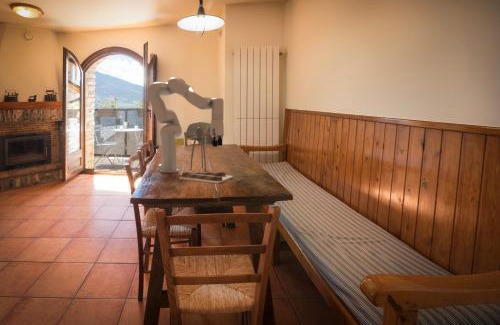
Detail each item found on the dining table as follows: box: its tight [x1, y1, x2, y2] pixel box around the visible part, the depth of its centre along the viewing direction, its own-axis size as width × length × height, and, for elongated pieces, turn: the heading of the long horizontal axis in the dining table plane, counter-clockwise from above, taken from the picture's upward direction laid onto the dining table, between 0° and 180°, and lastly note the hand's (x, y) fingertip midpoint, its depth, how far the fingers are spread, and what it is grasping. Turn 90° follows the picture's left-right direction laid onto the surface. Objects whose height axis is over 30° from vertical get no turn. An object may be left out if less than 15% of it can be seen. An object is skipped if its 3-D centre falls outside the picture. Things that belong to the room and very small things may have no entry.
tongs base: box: [181, 171, 222, 181], centre depth 226 cm, size 26×3×3 cm, turn 66°
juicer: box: [190, 126, 207, 172], centre depth 258 cm, size 10×11×30 cm
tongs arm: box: [190, 171, 226, 176], centre depth 234 cm, size 22×3×2 cm, turn 96°
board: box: [178, 174, 234, 184], centre depth 231 cm, size 27×20×1 cm
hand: (217, 145), depth 238 cm, fingers open, 5 cm apart
